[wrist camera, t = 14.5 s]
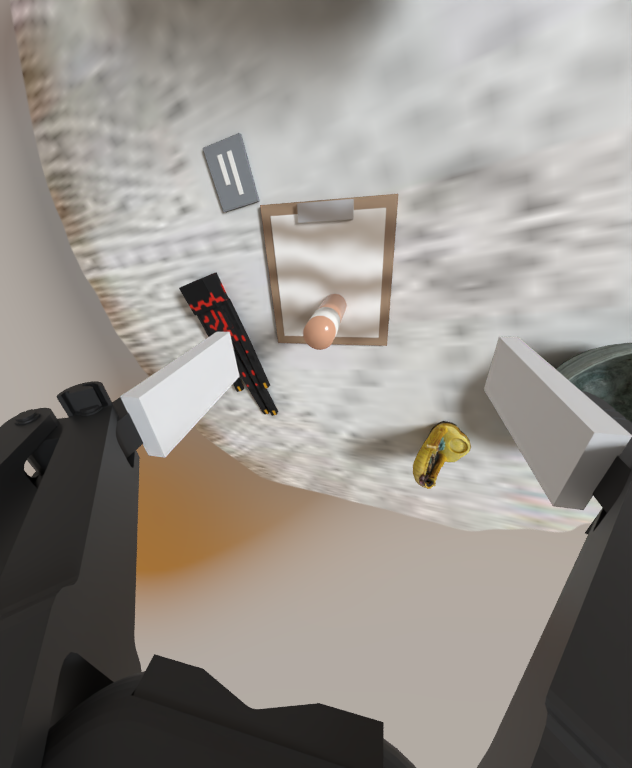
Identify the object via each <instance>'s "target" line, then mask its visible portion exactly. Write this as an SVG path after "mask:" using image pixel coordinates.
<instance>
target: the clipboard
mask: <svg viewBox="0 0 632 768" xmlns="http://www.w3.org/2000/svg"><path fill="white" fill-rule="evenodd" d="M397 205H398V194H390V195H378V196H366V197H354V198H342V199H330V200H318V201H306V202H294V203H282V204H270V205H260V208H261V215H262V223H263V230H264V238H265V246H266V253H267V261H268V268H269V276H270V284H271V291H272V299H273V306H274V314H275V322H276V329H277V337H278V343H305V344H307V343H306V341H305V340H304V337H303V330H304V327H305V326H306V324H307V322H308V321H309V319H310V318H311V317H312V315H313V314H314V313H315V311H316V310H317V309H318V308H319V306H320V305H321V304H322V302H323V301H324V300H325V298H326V297H327V296H328V295H330V294H339V295H341V296H342V297H343V298H344V299H345V301H346V304H347V308H346V311H345V313H344V316H343V318H342V321H341V323H340V327H339V329H338V331H337V334H336V336H335V338H334V340H333V342H332V344H345V345H384V346H387V337H388V324H389V311H390V297H391V284H392V271H393V258H394V244H395V231H396V218H397Z"/></svg>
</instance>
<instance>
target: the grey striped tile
mask: <svg viewBox="0 0 632 768" xmlns="http://www.w3.org/2000/svg"><path fill="white" fill-rule="evenodd" d="M203 151H204V154H205V157H206V160H207V163H208V166H209V169H210V172H211V175H212V178H213V181H214V184H215V187H216V190H217V193H218V196H219V199H220V202H221V205H222V208H223V211H224V212H227V211H230V210H233V209H237V208H240V207H243V206H246V205H249V204H252V203H255V202H258V201H259V198H258V194H257V191H256V187H255V183H254V180H253V176H252V172H251V169H250V165H249V161H248V158H247V154H246V150H245V147H244V143H243V139H242V136H241V134H240V133H238V134H236V135H233V136H231V137H229V138H226V139H224V140H221V141H219V142H216V143H214V144H211V145H209V146H207V147H204V148H203Z"/></svg>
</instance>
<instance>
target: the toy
mask: <svg viewBox="0 0 632 768" xmlns="http://www.w3.org/2000/svg"><path fill="white" fill-rule="evenodd" d="M179 289H180V291H181V292H182V294H183V296H184V297H185V299H186V301H187V303H188V304H189V306H190V308H191V309H192V311H193V313H194V315H197V316H198V318H199V320H200V322H201V324H202V325H203V327H204V329H205V331H206V333H207V334H208V336H209V337H210V336H211V335H213V334H214V333H216V332H230V336H231V340H232V342H233V343H234V345H235V347H236V349H237V351H238V353H239V355H240V357H241V359H242V361H243V362H244V364H245V366H246V368H247V369H246V368H245V366H244V364H243V362H242V361H241V359H240V357H239V355H238V353H237V352H236V350H235V348H234V346H233V349H234V354H235V358H236V363H237V367H238V372H239V374H240V376H241V377H242V379H243V381H244V383H245V384H246V386H247V387H248V389H249V391H250V392H251V394H252V396H253V397H254V399H255V400H256V402H257V404H258V405H259V407H260V409H261V410H262V412H263V413H264V414H269V412H270V413H271V415H272V416H273V415H277V413H278V410H277V408H276V406H275V404H274V402H273V400H272V398H271V396H270V394H269V392H268V391H267V389H266V388H268V387H269V386H270V384H269V381H268V379H267V377H266V375H265V372H264V370H263V368H262V366H261V363H260V361H259V359H258V357H257V354H256V352H255V350H254V348H253V345H252V343H251V341H250V339H249V337H248V335H247V333H246V331H245V329H244V327H243V325H242V323H241V321H240V319H239V317H238V315H237V312H236V310H235V308H234V306H233V304H232V302H231V300H230V298H228V296H227V294H226V292H225V290H224V287H223V285H222V283H221V281H220V279H219V277H218V275H217V273H213V274H211V275H209V276H206V277H204V278H201V279H199V280H196V281H194V282H192V283H189V284H187V285H185V286H183V287H180V288H179ZM247 370H248V371H247ZM248 372H249V373H248ZM249 374H250V375H249ZM233 385H234V387H235V389H236V391H237V392H239V391H242V390H243V389H244V387H243V384H242V382H241V380H240V378H238V379H237V380H236V381H235V382H234V383H233Z"/></svg>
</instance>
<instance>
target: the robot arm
mask: <svg viewBox="0 0 632 768" xmlns="http://www.w3.org/2000/svg"><path fill="white" fill-rule="evenodd" d="M239 377H240V376H239V372H238V367H237V363H236V358H235V354H234V349H233V345H232V340H231V336H230V332H216V333H214V334H213V335H211V336H210V337H208V338H207V339H205V340H204V341H202V342H201V343H199V344H198V345H196V346H195V347H193V348H192V349H190V350H189V351H187V352H186V353H184V354H183V355H181V356H180V357H178V358H177V359H175V360H174V361H172V362H171V363H169V364H168V365H166V366H165V367H163V368H162V369H160V370H159V371H157V372H156V373H155V374H153V375H152V376H150V377H149V378H147V379H146V380H144V381H143V382H141V383H140V384H138V385H137V386H135V387H134V388H132V389H131V390H129V391H128V392H126V393H125V394H123V395H122V396H120V398H118V399H117V400H115V401H114V402H111V400H110V398H109V396H108V394H107V392H106V390H105V388H104V386H103V384H102V383H101V382H87V383H82V384H78V385H75V386H73V387H70V388H68V389H66V390H64V391H63V392H61V393H59V394H58V395H57V398H58V400H59V402H60V403H61V405H62V407H63V408H64V410H65V411H66V413H67V415H68V416H69V417H68V418H62V419H57V418H56V416H55V415H54V414H53V412H52V410H51V409H49V408H39V409H34V410H32V409H31V410H28V411H26V412H22V413H20V414H18V415H17V416H15V417H13V418H12V419H10V420H8V421H7V422H6V423H4V424H3V425H2V426H1V427H0V768H416V767H415V766H414V765H413V764H412V763H411V762H410V761H409V760H408V759H407V758H406V757H405V756H404V755H403V754H402V753H401V752H400V751H399V750H398V749H397V748H395V747H394V746H393V745H391V744H390V743H389V742H387V741H386V740H385V739H384V738H383V722H381V721H377V720H374V719H371V718H367V717H363V716H360V715H357V714H354V713H350V712H347V711H344V710H340V709H337V708H333V707H330V706H326V705H323V704H320V703H317V704H308V705H297V706H287V707H278V708H267V709H252V708H250V707H248V706H247V705H245V704H244V703H243V702H242V701H241V700H239V699H238V698H237V697H236V696H235V695H233V694H232V693H231V692H230V691H229V690H228V689H226V688H225V687H224V686H223V685H222V684H220V683H219V682H218V681H217V680H216V679H214V678H213V677H212V676H211V675H209V673H207V672H206V671H205V670H204V669H202V668H199V667H195V666H191V665H188V664H185V663H182V662H178V661H175V660H172V659H168V658H165V657H162V656H158V655H154V656H153V658H152V660H151V662H150V663H149V666H148V667H147V669H146V671H144V672H141V665H140V661H139V658H138V655H137V651H136V648H135V642H134V625H135V624H134V623H135V590H136V557H137V553H136V552H137V523H138V488H139V455H138V453H137V451H136V450H137V449H138V447H140V446H141V445H142V444H143V445H144V447H145V449H146V451H147V453H148V455H150V456H158V457H166V456H167V455H168V454H169V453H170V452H171V451H172V449H173V448H174V447H175V446H176V445H177V444H178V443H179V442H180V441H181V440H182V439H183V438H184V436H185V435H186V434H187V433H188V432H189V431H190V430H191V429H192V428H193V427H194V426H195V424H196V423H197V422H198V421H199V420H200V419H201V418H202V417H203V416H204V415H205V414H206V412H207V411H208V410H209V409H210V408H211V407H212V406H213V405H214V404H215V403H216V402H217V401H218V399H219V398H220V397H221V396H222V395H223V394H224V393H225V392H226V391H227V390H228V389H229V387H230V386H231V385H232V384H233V383H234V382H235V381H236V380H237V379H238V378H239ZM484 391H485V392H486V394H487V396H488V397H489V399H490V401H491V403H492V404H493V406H494V408H495V409H496V411H497V413H498V414H499V416H500V418H501V419H502V421H503V423H504V424H505V426H506V428H507V430H508V431H509V433H510V435H511V436H512V438H513V440H514V441H515V443H516V445H517V446H518V448H519V450H520V451H521V453H522V455H523V457H524V458H525V460H526V462H527V463H528V465H529V467H530V468H531V470H532V472H533V473H534V475H535V477H536V479H537V480H538V482H539V484H540V485H541V487H542V489H543V490H544V492H545V494H546V495H547V497H548V499H549V500H550V502H551V504H552V506H556V507H564V508H572V509H580V510H584V509H585V507H586V505H587V504H588V502H589V501H590V499H591V498H592V496H594V497H595V498H596V500H597V501H598V502H599V503H600V505H601V506H602V507H603V508H602V510H601V511H600V512H599V514H598V515H597V517H596V518H595V519H594V521H593V522H592V524H591V525H590V526H589V528H588V529H587V531H586V532H585V533H586V534H588V536H587V538H586V541H585V543H584V545H583V547H582V549H581V551H580V553H579V556H578V558H577V560H576V562H575V564H574V567H573V569H572V571H571V573H570V575H569V577H568V579H567V582H566V584H565V586H564V588H563V590H562V593H561V595H560V597H559V599H558V601H557V603H556V606H555V608H554V610H553V612H552V614H551V617H550V618H549V620H548V623H547V625H546V627H545V629H544V631H543V634H542V636H541V638H540V640H539V642H538V645H537V647H536V649H535V651H534V653H533V656H532V657H531V659H530V662H529V664H528V666H527V668H526V670H525V672H524V675H523V677H522V679H521V681H520V683H519V685H518V688H517V690H516V692H515V694H514V696H513V698H512V700H511V703H510V705H509V707H508V709H507V711H506V713H505V716H504V718H503V720H502V722H501V724H500V726H499V729H498V731H497V733H496V735H495V737H494V739H493V741H492V743H491V745H490V747H489V749H488V751H487V752H486V754H485V756H484V757H483V759H482V760H481V762H480V764H479V765H478V767H477V768H632V423H631V422H630V421H629V420H626V418H625V417H624V416H623V415H621V414H620V413H619V412H616V410H615V409H614V408H613V407H612V406H610V405H609V404H608V403H607V402H605V401H604V400H603V399H601V398H599V397H597V396H595V395H593V394H591V393H589V392H586V391H580V390H579V389H578V388H577V387H576V386H574V385H573V384H572V383H571V382H570V381H569V380H568V379H566V378H565V377H564V376H563V375H562V374H561V373H559V372H558V371H557V370H556V369H555V368H554V367H553V366H551V365H550V364H549V363H548V362H547V361H546V360H544V359H543V358H542V357H541V356H540V355H539V354H537V353H536V352H535V351H534V350H533V349H532V348H531V347H529V346H528V345H527V344H526V343H525V342H524V341H522V340H521V339H520V338H519V337H499V338H498V342H497V345H496V349H495V352H494V356H493V359H492V363H491V366H490V370H489V373H488V377H487V380H486V384H485V387H484ZM26 460H28V462H29V463H30V464H31V466H32V467H33V468H34V469H35V471H36V472H35V473H34V474H33V476H32V477H30V476H29V475H27V473H26V472H25V471H24V464H25V462H26Z"/></svg>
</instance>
